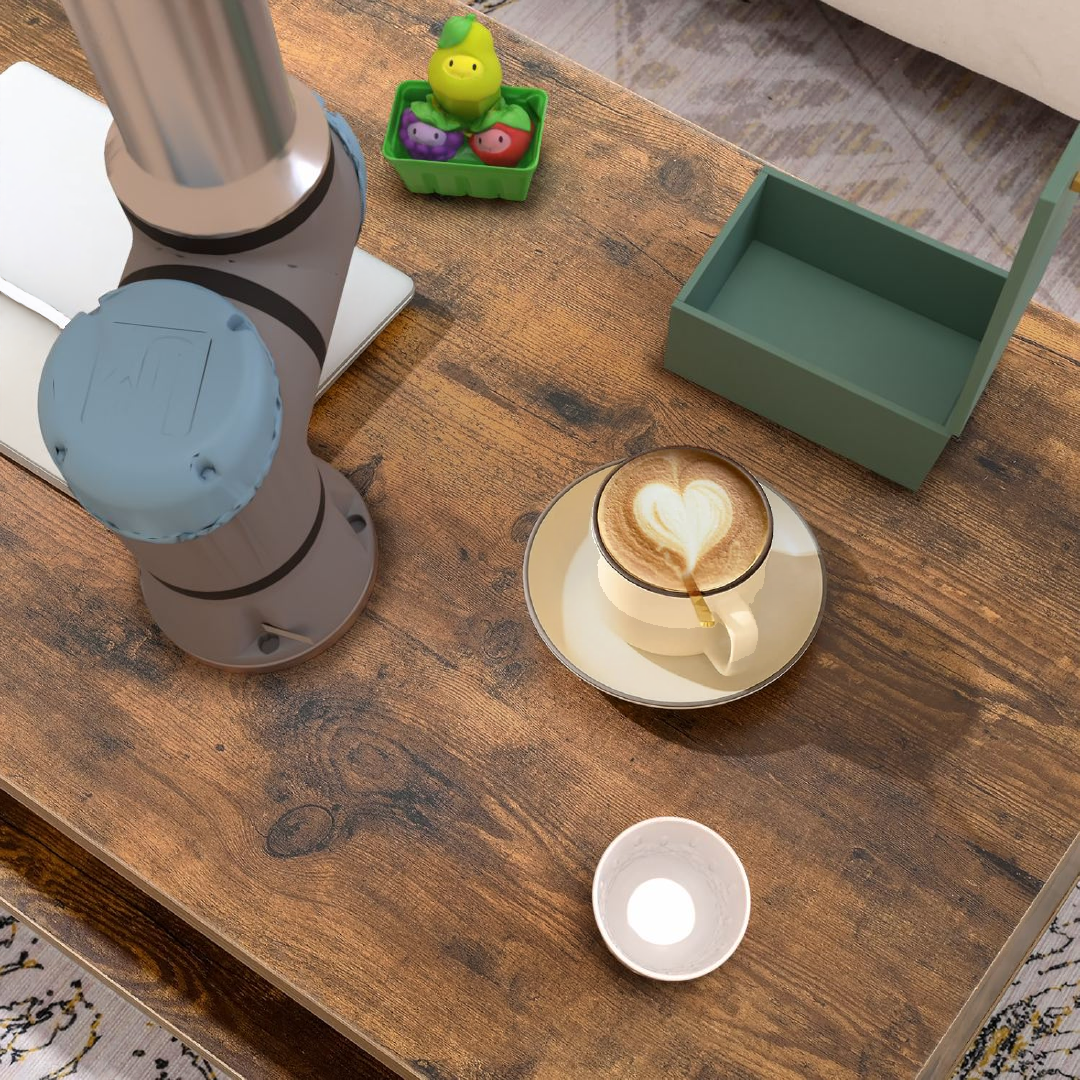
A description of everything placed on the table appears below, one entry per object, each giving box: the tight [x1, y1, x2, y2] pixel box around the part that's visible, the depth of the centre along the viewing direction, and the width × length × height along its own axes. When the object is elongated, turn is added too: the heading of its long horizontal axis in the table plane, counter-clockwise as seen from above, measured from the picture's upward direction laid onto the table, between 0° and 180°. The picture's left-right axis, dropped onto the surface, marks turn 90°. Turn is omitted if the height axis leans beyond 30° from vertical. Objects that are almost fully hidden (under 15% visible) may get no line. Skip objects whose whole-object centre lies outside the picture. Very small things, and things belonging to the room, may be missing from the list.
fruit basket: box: [381, 13, 549, 202], centre depth 84 cm, size 11×9×11 cm
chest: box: [663, 164, 1010, 493], centre depth 78 cm, size 19×13×8 cm
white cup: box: [591, 816, 752, 982], centre depth 62 cm, size 8×8×10 cm
